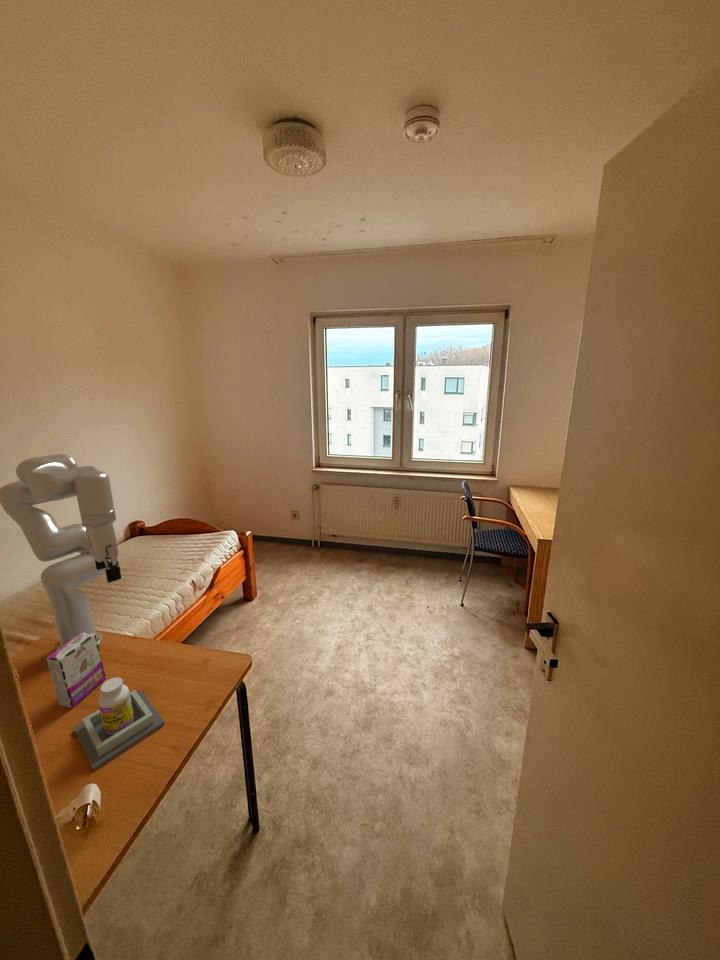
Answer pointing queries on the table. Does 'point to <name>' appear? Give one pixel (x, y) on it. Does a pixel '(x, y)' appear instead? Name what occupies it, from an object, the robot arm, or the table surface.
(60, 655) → the candy bar box
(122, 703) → the supplement bottle
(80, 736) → the tray
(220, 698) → the table surface
